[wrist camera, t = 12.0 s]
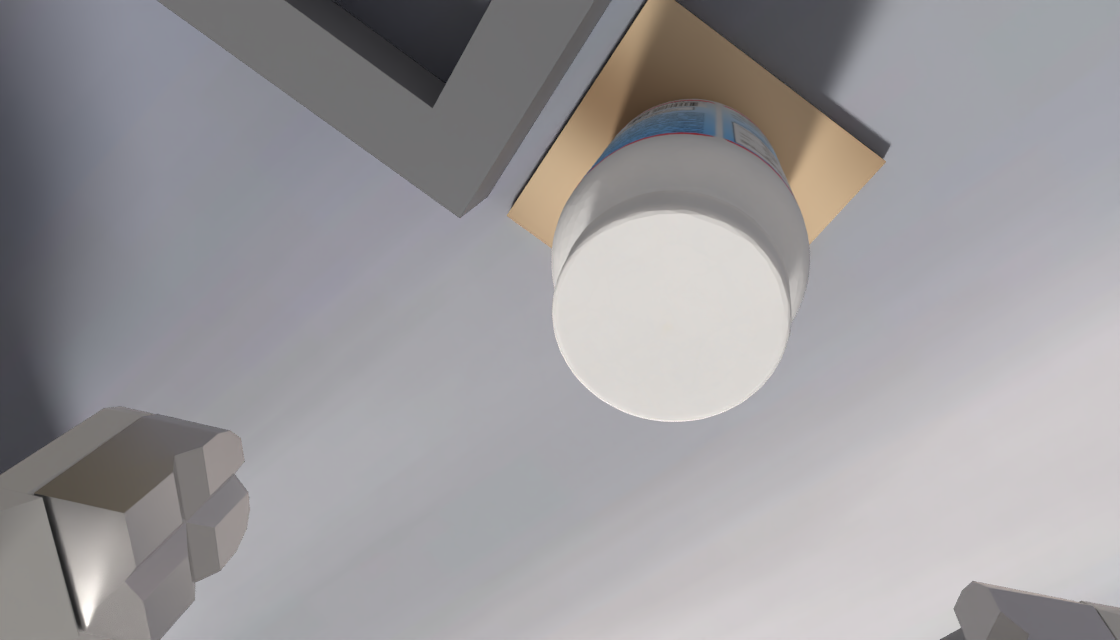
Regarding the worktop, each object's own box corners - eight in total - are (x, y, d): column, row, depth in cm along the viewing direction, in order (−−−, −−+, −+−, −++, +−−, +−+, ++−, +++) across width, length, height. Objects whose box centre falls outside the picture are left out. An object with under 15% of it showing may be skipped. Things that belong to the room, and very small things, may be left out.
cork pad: (704, 353, 26) (703, 358, 26) (509, 212, 26) (506, 215, 25) (883, 159, 22) (886, 161, 22) (657, -13, 22) (656, -14, 21)
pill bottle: (585, 253, 25) (494, 413, 15) (620, 79, 22) (539, 132, 12) (751, 293, 24) (772, 489, 14) (807, 118, 22) (882, 207, 12)
